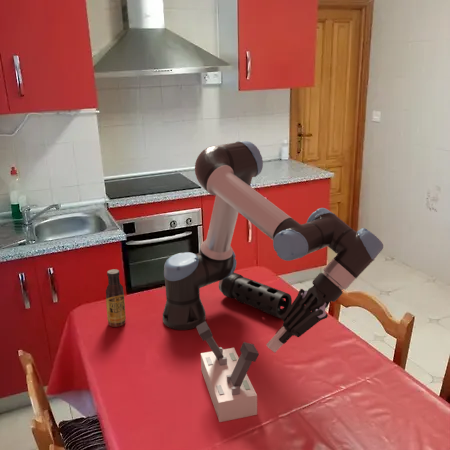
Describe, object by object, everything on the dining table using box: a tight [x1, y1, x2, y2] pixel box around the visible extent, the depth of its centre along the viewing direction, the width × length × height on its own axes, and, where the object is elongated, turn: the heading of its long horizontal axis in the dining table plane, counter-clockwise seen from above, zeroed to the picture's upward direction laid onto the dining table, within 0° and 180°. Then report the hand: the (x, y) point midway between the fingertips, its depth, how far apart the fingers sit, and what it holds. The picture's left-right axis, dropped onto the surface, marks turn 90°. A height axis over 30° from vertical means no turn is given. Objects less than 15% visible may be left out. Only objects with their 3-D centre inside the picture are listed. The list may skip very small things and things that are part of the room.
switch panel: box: [200, 346, 258, 423], centre depth 130 cm, size 10×22×8 cm, turn 15°
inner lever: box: [196, 320, 224, 360], centre depth 133 cm, size 3×4×11 cm
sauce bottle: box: [105, 268, 127, 328], centre depth 164 cm, size 6×6×20 cm
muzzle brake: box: [218, 271, 293, 320], centre depth 174 cm, size 10×28×10 cm, turn 46°
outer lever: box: [230, 341, 260, 387], centre depth 122 cm, size 3×4×11 cm
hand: (270, 348), depth 123 cm, fingers closed
